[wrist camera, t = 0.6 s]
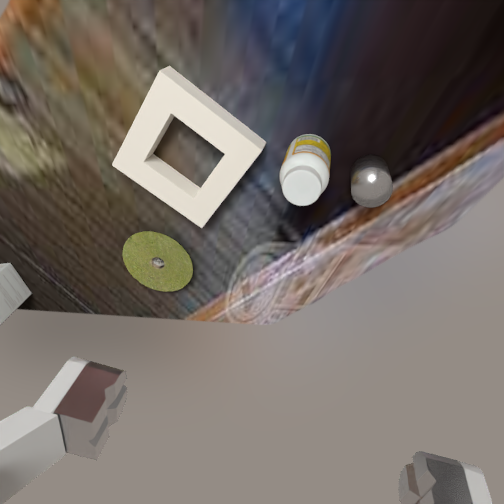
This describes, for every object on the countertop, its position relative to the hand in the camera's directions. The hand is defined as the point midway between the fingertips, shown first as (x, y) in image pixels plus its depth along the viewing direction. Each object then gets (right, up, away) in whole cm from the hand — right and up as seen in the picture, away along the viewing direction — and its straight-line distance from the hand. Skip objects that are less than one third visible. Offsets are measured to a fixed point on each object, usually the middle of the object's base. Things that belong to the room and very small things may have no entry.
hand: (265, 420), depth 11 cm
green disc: (-14, +4, +50) cm, 52 cm away
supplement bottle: (+7, +17, +36) cm, 41 cm away
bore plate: (-8, +18, +39) cm, 43 cm away
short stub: (+14, +14, +36) cm, 41 cm away
